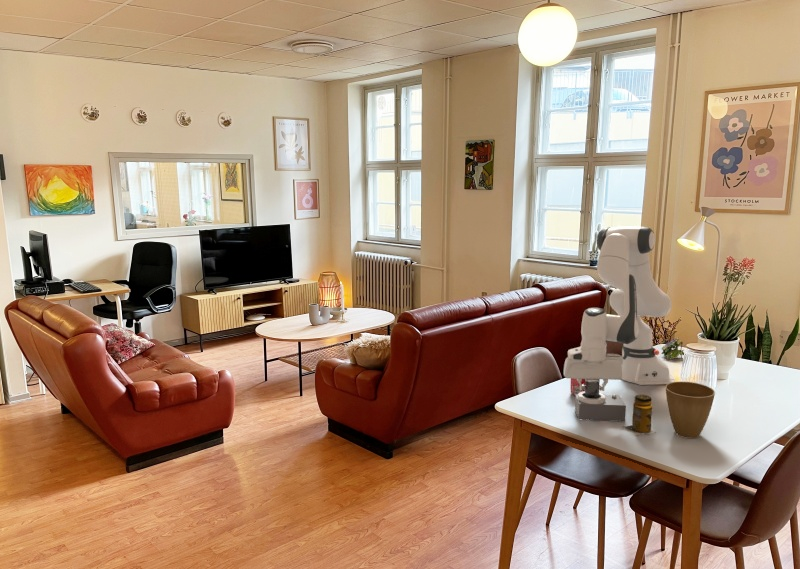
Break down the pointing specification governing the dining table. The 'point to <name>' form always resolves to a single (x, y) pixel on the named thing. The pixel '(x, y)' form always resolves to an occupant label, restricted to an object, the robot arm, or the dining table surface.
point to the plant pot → (689, 407)
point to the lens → (592, 388)
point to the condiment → (641, 416)
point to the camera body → (600, 407)
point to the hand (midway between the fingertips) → (591, 390)
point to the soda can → (576, 386)
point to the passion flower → (668, 349)
